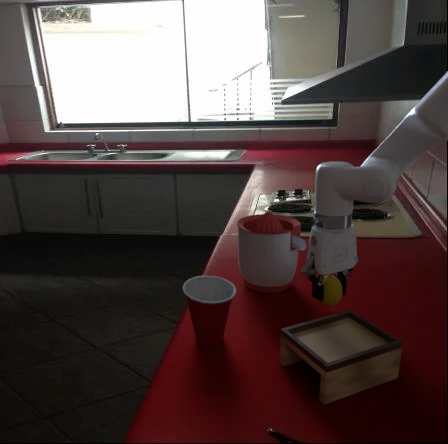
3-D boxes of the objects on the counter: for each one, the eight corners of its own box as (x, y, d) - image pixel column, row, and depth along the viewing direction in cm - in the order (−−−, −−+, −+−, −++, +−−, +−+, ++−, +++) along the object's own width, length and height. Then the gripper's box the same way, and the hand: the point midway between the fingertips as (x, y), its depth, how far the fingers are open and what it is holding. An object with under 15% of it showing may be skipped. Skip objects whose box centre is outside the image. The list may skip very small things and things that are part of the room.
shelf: (346, 341, 84) (349, 309, 82) (398, 377, 73) (403, 341, 71) (279, 362, 79) (280, 328, 77) (324, 404, 68) (326, 366, 66)
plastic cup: (215, 360, 81) (215, 305, 77) (174, 340, 88) (171, 288, 84) (246, 335, 88) (246, 283, 84) (205, 318, 95) (204, 270, 92)
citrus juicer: (291, 306, 98) (294, 225, 92) (225, 288, 109) (225, 215, 103) (313, 280, 110) (317, 208, 104) (252, 267, 120) (253, 200, 114)
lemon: (319, 298, 99) (320, 268, 97) (344, 304, 96) (345, 272, 94) (312, 309, 95) (313, 277, 93) (337, 315, 92) (339, 282, 90)
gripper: (311, 232, 83) (308, 312, 89) (377, 217, 89) (371, 294, 94) (288, 222, 90) (286, 297, 96) (351, 209, 96) (346, 281, 101)
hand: (328, 295), depth 95 cm, fingers closed on lemon, 5 cm apart
